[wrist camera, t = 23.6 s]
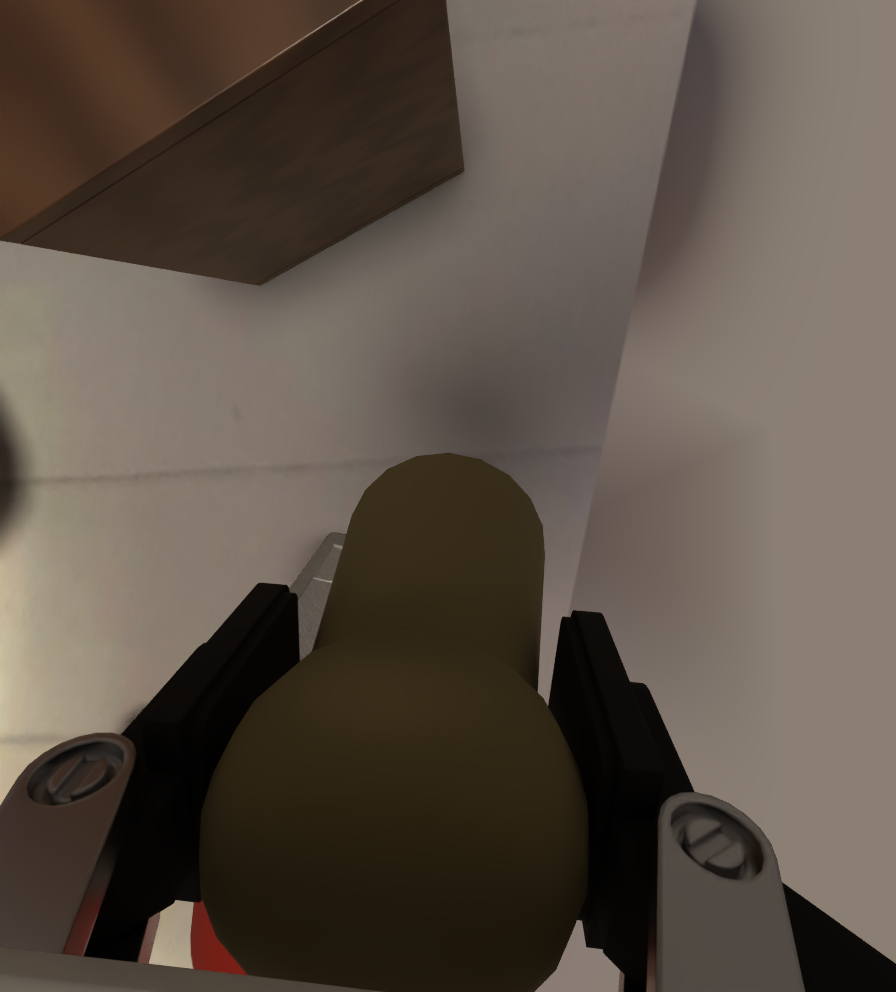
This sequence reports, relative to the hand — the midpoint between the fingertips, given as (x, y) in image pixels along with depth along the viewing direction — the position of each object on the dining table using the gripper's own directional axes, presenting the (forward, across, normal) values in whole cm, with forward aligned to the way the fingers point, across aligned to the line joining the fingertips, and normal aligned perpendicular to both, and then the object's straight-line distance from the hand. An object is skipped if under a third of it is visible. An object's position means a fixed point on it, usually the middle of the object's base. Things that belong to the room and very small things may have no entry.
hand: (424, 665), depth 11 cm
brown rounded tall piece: (+6, 0, 0) cm, 6 cm away
